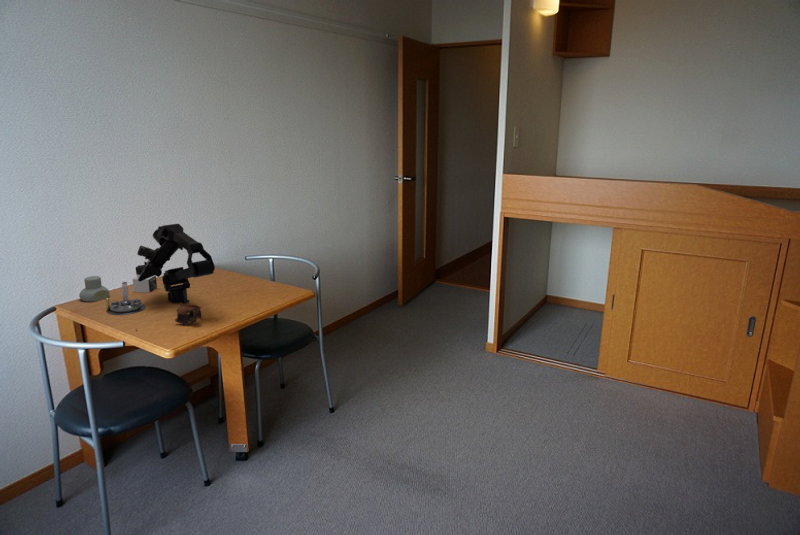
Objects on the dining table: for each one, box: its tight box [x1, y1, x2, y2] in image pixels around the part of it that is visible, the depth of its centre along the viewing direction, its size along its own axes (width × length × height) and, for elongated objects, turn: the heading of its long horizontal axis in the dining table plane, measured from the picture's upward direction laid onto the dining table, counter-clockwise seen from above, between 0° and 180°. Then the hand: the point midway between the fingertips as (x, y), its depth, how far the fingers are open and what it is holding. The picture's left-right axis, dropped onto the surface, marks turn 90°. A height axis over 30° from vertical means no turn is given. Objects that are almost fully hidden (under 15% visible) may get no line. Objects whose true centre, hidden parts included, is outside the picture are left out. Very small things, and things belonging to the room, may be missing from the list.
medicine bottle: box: [132, 264, 158, 293], centre depth 241 cm, size 7×7×12 cm
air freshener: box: [79, 275, 110, 303], centre depth 229 cm, size 11×8×10 cm
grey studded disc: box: [110, 281, 143, 313], centre depth 218 cm, size 14×11×8 cm
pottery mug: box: [174, 303, 202, 327], centre depth 208 cm, size 12×10×8 cm
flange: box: [104, 297, 147, 316], centre depth 217 cm, size 14×14×6 cm
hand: (138, 280), depth 222 cm, fingers closed
